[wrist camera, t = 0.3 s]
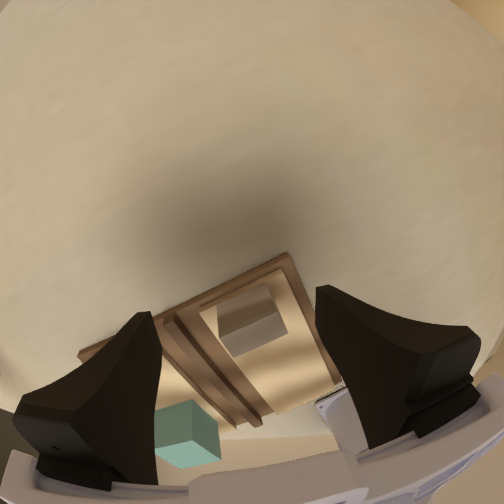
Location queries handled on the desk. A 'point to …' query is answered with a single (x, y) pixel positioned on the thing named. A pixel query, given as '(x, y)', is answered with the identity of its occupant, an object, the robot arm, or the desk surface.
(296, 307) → the empty strip
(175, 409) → the teal cube
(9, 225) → the desk surface
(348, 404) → the robot arm
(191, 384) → the strip
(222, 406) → the lane board
